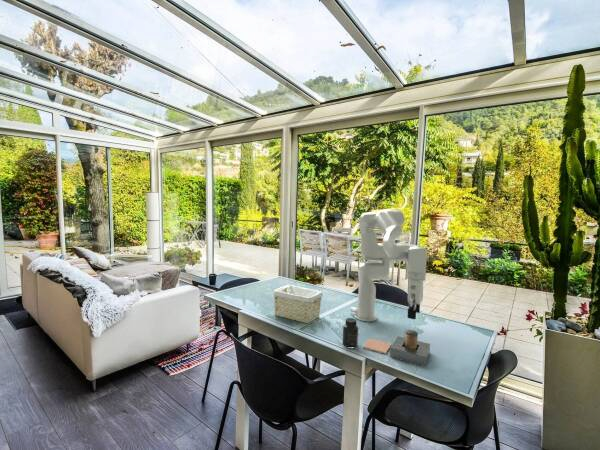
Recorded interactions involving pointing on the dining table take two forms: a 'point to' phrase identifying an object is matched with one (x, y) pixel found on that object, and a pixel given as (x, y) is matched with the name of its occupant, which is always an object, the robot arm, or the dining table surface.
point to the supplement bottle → (350, 333)
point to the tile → (377, 346)
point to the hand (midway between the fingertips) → (413, 315)
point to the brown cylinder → (411, 339)
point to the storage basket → (297, 303)
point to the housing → (410, 351)
